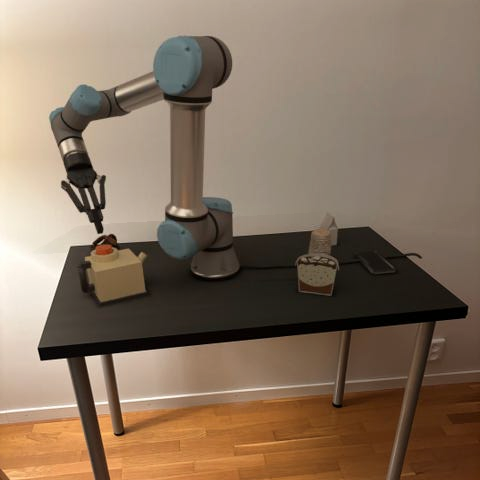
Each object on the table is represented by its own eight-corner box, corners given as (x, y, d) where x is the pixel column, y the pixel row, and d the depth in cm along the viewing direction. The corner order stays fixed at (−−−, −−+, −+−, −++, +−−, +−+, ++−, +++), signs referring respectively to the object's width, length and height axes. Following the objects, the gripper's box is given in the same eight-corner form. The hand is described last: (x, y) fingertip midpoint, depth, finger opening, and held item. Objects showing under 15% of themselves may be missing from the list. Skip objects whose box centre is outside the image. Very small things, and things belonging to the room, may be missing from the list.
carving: (321, 273, 153) (323, 236, 147) (303, 266, 158) (304, 230, 152) (334, 267, 157) (337, 231, 151) (316, 261, 162) (318, 225, 156)
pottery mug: (121, 262, 165) (105, 244, 160) (99, 272, 169) (83, 254, 164) (129, 241, 174) (114, 223, 169) (108, 251, 177) (93, 233, 172)
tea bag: (326, 245, 174) (328, 218, 169) (320, 239, 179) (321, 212, 174) (336, 244, 174) (338, 217, 169) (329, 238, 180) (331, 211, 175)
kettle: (132, 279, 152) (127, 242, 146) (146, 294, 143) (141, 255, 137) (90, 288, 147) (83, 251, 141) (101, 305, 138) (94, 265, 132)
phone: (377, 251, 165) (397, 268, 152) (376, 254, 166) (396, 272, 153) (354, 253, 164) (372, 271, 151) (354, 256, 165) (372, 274, 152)
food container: (340, 287, 145) (343, 255, 140) (336, 296, 140) (339, 263, 135) (298, 282, 148) (300, 250, 143) (294, 290, 143) (295, 258, 138)
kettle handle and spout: (143, 276, 154) (139, 242, 149) (158, 292, 144) (154, 257, 138) (78, 291, 146) (71, 256, 140) (89, 309, 136) (82, 272, 130)
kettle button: (109, 249, 143) (109, 243, 142) (114, 253, 140) (113, 248, 139) (94, 251, 141) (93, 246, 140) (98, 257, 138) (97, 251, 137)
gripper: (97, 164, 148) (121, 233, 144) (52, 169, 143) (76, 241, 138) (99, 148, 142) (124, 220, 137) (52, 153, 136) (77, 229, 132)
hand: (100, 231), depth 138 cm, fingers closed
